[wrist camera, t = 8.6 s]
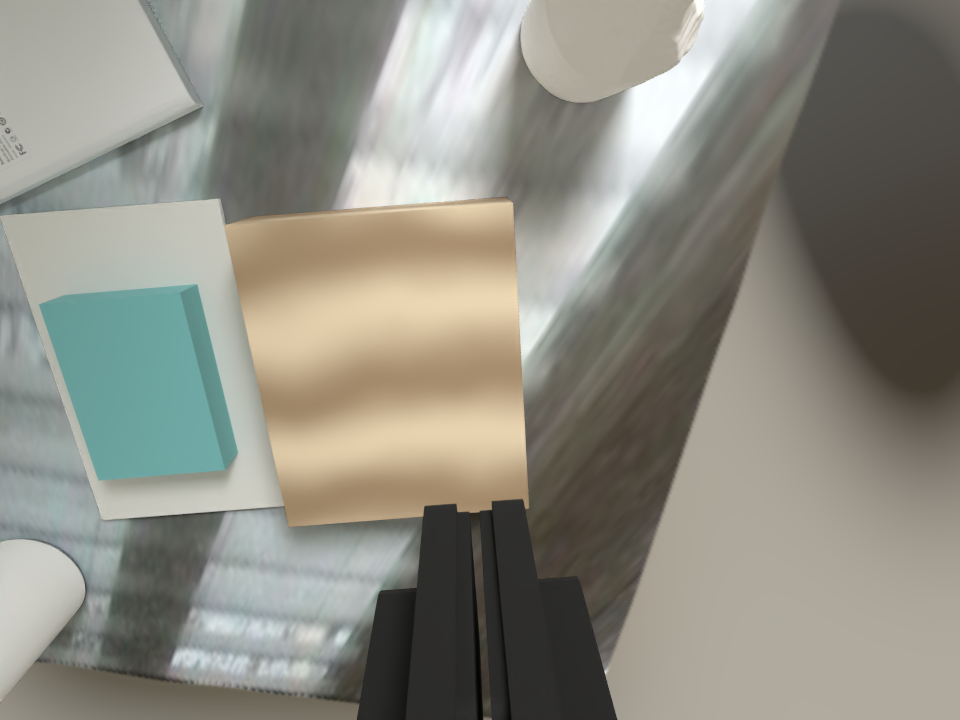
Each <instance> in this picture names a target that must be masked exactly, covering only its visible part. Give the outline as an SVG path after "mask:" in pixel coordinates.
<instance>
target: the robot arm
mask: <svg viewBox="0 0 960 720" xmlns="http://www.w3.org/2000/svg"><path fill="white" fill-rule="evenodd" d="M480 526H481V544H482V561H483V578H484V595H485V612H486V629H487V646H488V663H489V680H490V697H491V713H492V720H617V717H616V714H615V710H614V706H613V702H612V699H611V695H610V691H609V688H608V684H607V680H606V676H605V673H604V669H603V665H602V662H601V658H600V654H599V651H598V647H597V643H596V640H595V636H594V632H593V628H592V625H591V621H590V617H589V614H588V610H587V606H586V603H585V599H584V595H583V592H582V588H581V585H580V582H579V579H578V578H577V576H574V577H561V578H547V579H538V578H537V573H536V567H535V561H534V556H533V550H532V545H531V539H530V533H529V528H528V522H527V517H526V511H525V505H524V501H523V499H513V500H499V501H492V510H481V511H480ZM357 720H483V703H482V681H481V658H480V639H479V625H478V613H477V600H476V587H475V575H474V562H473V549H472V536H471V524H470V512H469V511H467V512H457V504H442V505H428V506H425V507H424V513H423V525H422V536H421V548H420V559H419V570H418V582H417V588H410V589H396V590H382V591H380V593H379V595H378V599H377V604H376V610H375V616H374V622H373V628H372V634H371V640H370V645H369V651H368V657H367V663H366V669H365V675H364V681H363V687H362V693H361V698H360V704H359V710H358V716H357Z"/></svg>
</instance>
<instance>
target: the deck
mask: <svg viewBox="0 0 960 720" xmlns="http://www.w3.org/2000/svg"><path fill="white" fill-rule="evenodd" d="M224 228H225V233H226V237H227V242H228V247H229V251H230V256H231V261H232V265H233V270H234V275H235V279H236V284H237V289H238V293H239V298H240V303H241V307H242V312H243V317H244V321H245V326H246V331H247V335H248V340H249V345H250V349H251V354H252V359H253V363H254V368H255V373H256V377H257V382H258V386H259V391H260V396H261V400H262V405H263V410H264V414H265V419H266V424H267V428H268V433H269V438H270V442H271V447H272V452H273V456H274V461H275V466H276V470H277V475H278V480H279V484H280V489H281V494H282V498H283V503H284V508H285V512H286V517H287V522H288V526H289V527H295V526H308V525H321V524H334V523H347V522H360V521H372V520H385V519H398V518H411V517H423V513H424V507H425V506H428V505H442V504H457V512H467V511H469V512H470V513H475V512H480V511H481V510H492V501H499V500H513V499H523V501H524V505H525V509H527V508H529V501H528V482H527V462H526V443H525V424H524V404H523V385H522V366H521V347H520V327H519V308H518V289H517V269H516V250H515V231H514V212H513V203H512V202H511V201H510V200H509V199H508V198H507V197H500V198H487V199H474V200H461V201H448V202H435V203H422V204H409V205H396V206H383V207H370V208H357V209H344V210H331V211H318V212H305V213H292V214H279V215H266V216H254V217H250V218H247V219H244V220H241V221H237V222H234V223H231V224H228V225H224Z"/></svg>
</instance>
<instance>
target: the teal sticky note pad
mask: <svg viewBox="0 0 960 720" xmlns="http://www.w3.org/2000/svg"><path fill="white" fill-rule="evenodd" d="M39 307H40V310H41V313H42V316H43V319H44V322H45V324H46V327H47V330H48V333H49V336H50V339H51V342H52V345H53V348H54V351H55V354H56V357H57V360H58V363H59V366H60V369H61V372H62V375H63V378H64V381H65V384H66V386H67V389H68V392H69V395H70V398H71V401H72V404H73V407H74V410H75V413H76V416H77V419H78V422H79V425H80V428H81V431H82V434H83V437H84V440H85V443H86V446H87V448H88V451H89V454H90V457H91V460H92V463H93V466H94V469H95V472H96V475H97V478H98V481H100V480H112V479H125V478H137V477H149V476H161V475H173V474H185V473H197V472H210V471H222V470H226V468H227V467H228V466H229V464H230V463H231V462H232V460H233V459H234V458H235V456H236V455H237V454H238V450H237V446H236V442H235V438H234V433H233V429H232V425H231V421H230V417H229V413H228V409H227V405H226V400H225V396H224V392H223V388H222V384H221V380H220V376H219V372H218V367H217V363H216V359H215V355H214V351H213V347H212V343H211V339H210V335H209V330H208V326H207V322H206V318H205V314H204V310H203V306H202V302H201V297H200V293H199V289H198V285H197V284H193V285H181V286H168V287H156V288H144V289H132V290H120V291H108V292H96V293H83V294H71V295H63V296H61V297H58V298H55V299H52V300H49V301H47V302H44V303H41V304H39Z"/></svg>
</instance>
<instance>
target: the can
mask: <svg viewBox="0 0 960 720" xmlns="http://www.w3.org/2000/svg"><path fill="white" fill-rule="evenodd" d="M84 597H85V583H84V578H83V575H82V572H81V570H80V568H79V567H78V565H77V564H76V563H75V561H74V560H73V559H72V558H71V557H70V556H69V555H68V554H66V553H65V552H64V551H62V550H61V549H59V548H57V547H55V546H53V545H51V544H48V543H45V542H42V541H37V540H30V539H15V540H7V541H3V542H0V703H1V702H2V700H3V699H4V698H5V697H6V696H7V694H8V693H9V692H10V691H11V690H12V689H13V687H14V686H15V685H16V684H17V683H18V681H19V680H20V679H21V678H22V677H23V675H24V674H25V673H26V672H27V671H28V670H29V668H30V667H31V666H32V665H33V664H34V662H35V661H36V660H37V659H38V658H39V656H40V655H41V654H42V653H43V652H44V650H45V649H46V648H47V647H48V646H49V644H50V643H51V642H52V641H53V640H54V638H55V637H56V636H57V635H58V634H59V632H60V631H61V630H62V629H63V628H64V626H65V625H66V624H67V623H68V622H69V620H70V619H71V618H72V617H73V615H74V614H75V613H76V612H77V610H78V609H79V608H80V606H81V605H82V603H83V600H84Z"/></svg>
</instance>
